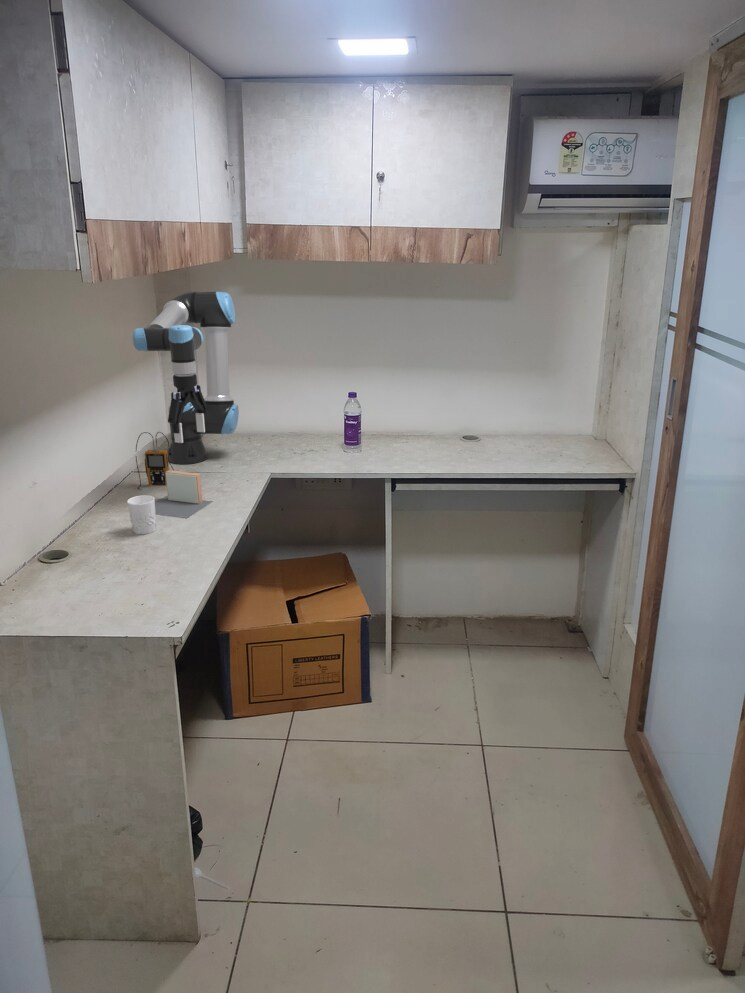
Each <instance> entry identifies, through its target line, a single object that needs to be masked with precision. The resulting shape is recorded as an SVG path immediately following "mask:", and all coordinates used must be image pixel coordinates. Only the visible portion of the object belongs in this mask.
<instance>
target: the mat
mask: <svg viewBox="0 0 745 993" xmlns="http://www.w3.org/2000/svg"><path fill="white" fill-rule="evenodd" d="M202 501H203V502H202V503H200V504H195V503H187V502H179V501H171V500H168V495H165V496H163V497H162V498H161V499H158V500H156V501H155V514H156V516H157V515H158V516H165V517H172V518H179V519H185V520H188V519H189V518H190V517H193V515H195V514H197V513H198V512H199V511H201V510H202V509H204V508H205V507H207V506H209V505H210V504H212V503H213V501H211V500H204V499H202Z"/></svg>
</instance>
